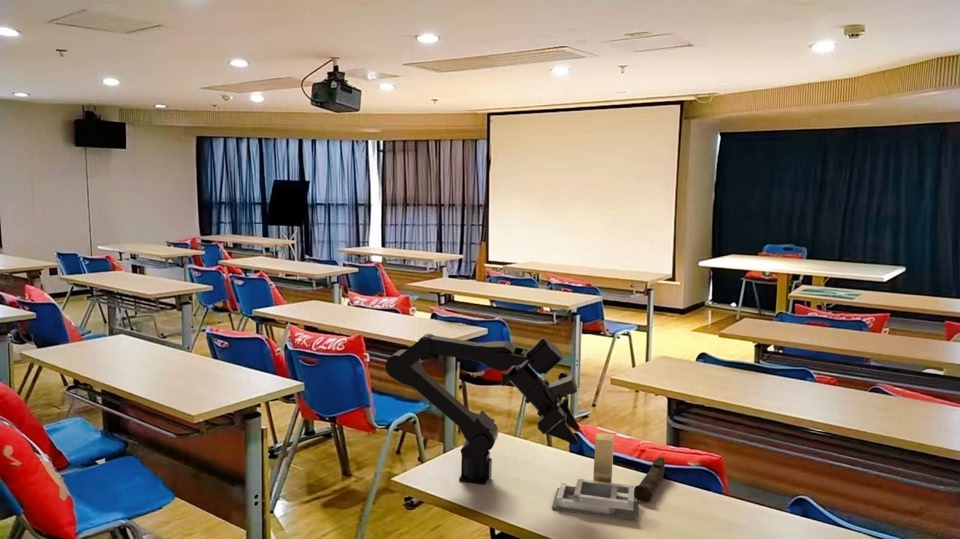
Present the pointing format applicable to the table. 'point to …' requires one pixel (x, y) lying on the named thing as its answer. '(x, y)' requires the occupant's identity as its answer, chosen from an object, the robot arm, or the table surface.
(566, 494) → the mat
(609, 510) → the grey slotted holder
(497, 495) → the table surface
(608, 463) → the pin
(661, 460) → the dark brown rod
